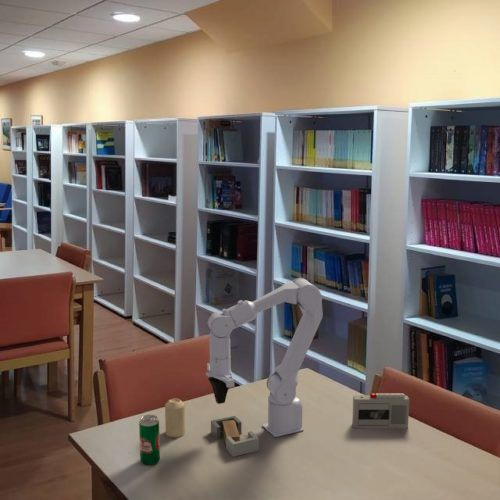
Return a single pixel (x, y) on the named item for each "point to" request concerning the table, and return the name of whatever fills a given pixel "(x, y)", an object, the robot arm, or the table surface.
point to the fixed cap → (217, 425)
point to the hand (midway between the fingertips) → (220, 402)
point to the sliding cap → (242, 445)
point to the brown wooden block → (230, 430)
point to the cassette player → (380, 410)
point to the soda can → (149, 440)
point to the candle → (175, 418)
